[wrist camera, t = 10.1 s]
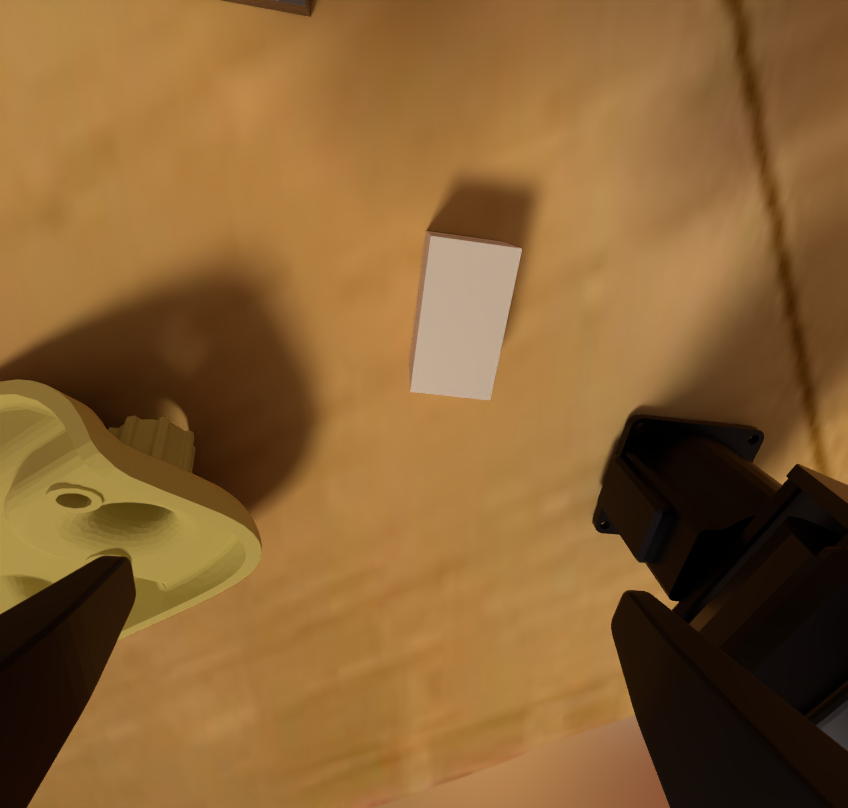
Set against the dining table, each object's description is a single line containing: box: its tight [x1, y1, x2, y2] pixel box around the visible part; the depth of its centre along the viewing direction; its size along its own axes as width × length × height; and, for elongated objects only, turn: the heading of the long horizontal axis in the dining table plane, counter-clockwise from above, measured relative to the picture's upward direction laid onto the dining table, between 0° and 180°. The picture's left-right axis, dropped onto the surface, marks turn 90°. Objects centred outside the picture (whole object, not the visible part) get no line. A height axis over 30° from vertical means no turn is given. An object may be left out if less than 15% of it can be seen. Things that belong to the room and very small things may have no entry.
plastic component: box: [0, 379, 262, 640], centre depth 19 cm, size 20×7×10 cm
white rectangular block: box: [409, 231, 522, 400], centre depth 17 cm, size 3×5×3 cm, turn 172°
